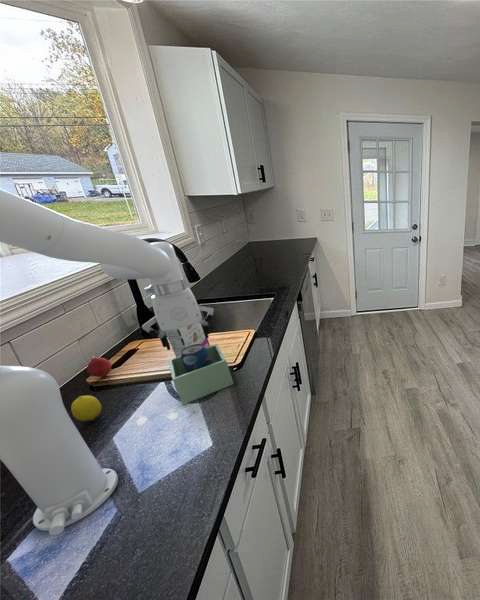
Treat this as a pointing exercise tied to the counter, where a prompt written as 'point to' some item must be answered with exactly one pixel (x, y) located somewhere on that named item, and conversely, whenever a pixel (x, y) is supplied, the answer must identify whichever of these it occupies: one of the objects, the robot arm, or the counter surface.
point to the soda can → (195, 357)
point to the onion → (98, 367)
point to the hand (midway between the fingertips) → (188, 342)
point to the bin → (201, 376)
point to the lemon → (86, 408)
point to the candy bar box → (186, 337)
